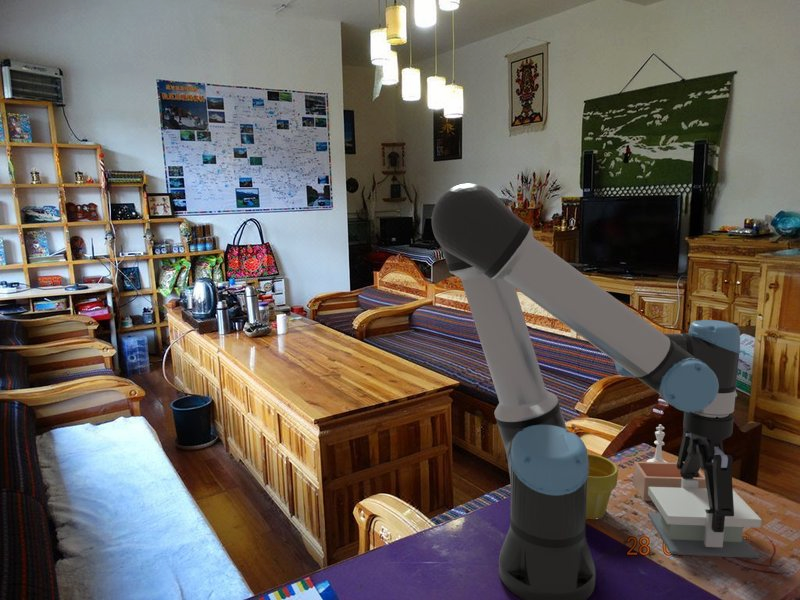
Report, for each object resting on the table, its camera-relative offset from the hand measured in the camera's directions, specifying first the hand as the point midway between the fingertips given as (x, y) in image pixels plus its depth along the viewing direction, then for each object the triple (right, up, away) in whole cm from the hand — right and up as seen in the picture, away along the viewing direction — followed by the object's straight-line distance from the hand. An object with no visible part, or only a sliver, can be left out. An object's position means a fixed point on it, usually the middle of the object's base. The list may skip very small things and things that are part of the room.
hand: (699, 527), depth 99 cm
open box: (+2, +1, +15) cm, 15 cm away
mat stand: (0, -1, 0) cm, 2 cm away
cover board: (0, +3, -1) cm, 3 cm away
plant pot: (-17, -1, +9) cm, 19 cm away
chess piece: (+5, +3, +27) cm, 27 cm away
